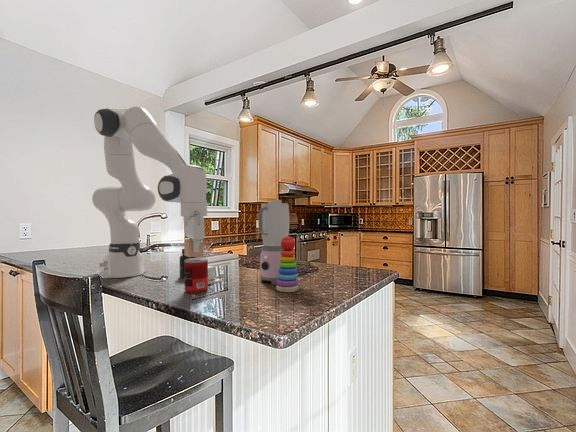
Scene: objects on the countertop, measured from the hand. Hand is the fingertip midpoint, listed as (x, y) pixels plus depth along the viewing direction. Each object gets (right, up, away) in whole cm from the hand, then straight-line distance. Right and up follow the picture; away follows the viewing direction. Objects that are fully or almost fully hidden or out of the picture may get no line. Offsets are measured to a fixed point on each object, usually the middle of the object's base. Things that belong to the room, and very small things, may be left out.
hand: (194, 251), depth 109 cm
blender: (+27, -14, +14) cm, 33 cm away
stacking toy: (+32, -14, 0) cm, 35 cm away
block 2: (0, -13, +14) cm, 19 cm away
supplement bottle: (-10, -14, +24) cm, 29 cm away
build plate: (0, -14, +14) cm, 19 cm away
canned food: (+1, -14, 0) cm, 14 cm away
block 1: (0, -2, 0) cm, 2 cm away
